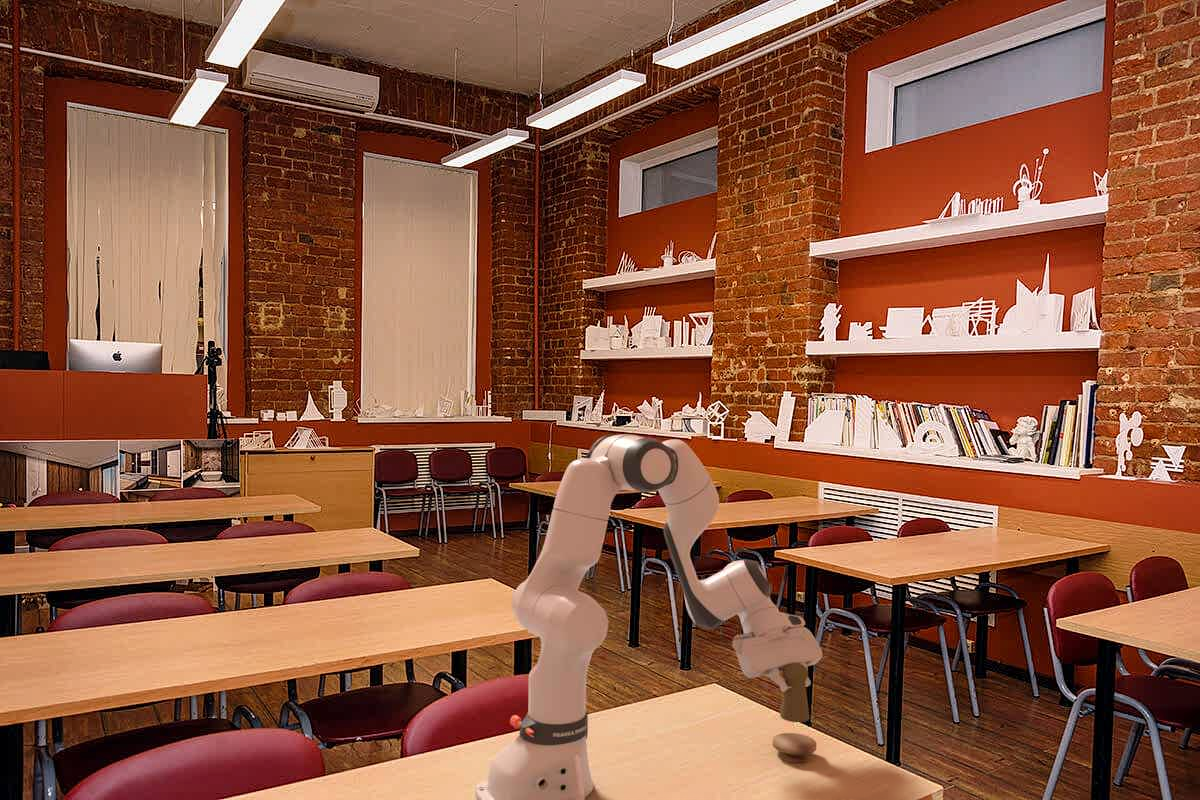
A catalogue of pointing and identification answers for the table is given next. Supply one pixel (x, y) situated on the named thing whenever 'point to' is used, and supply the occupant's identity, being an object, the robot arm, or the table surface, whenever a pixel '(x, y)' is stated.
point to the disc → (794, 747)
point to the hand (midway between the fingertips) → (797, 688)
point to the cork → (795, 694)
